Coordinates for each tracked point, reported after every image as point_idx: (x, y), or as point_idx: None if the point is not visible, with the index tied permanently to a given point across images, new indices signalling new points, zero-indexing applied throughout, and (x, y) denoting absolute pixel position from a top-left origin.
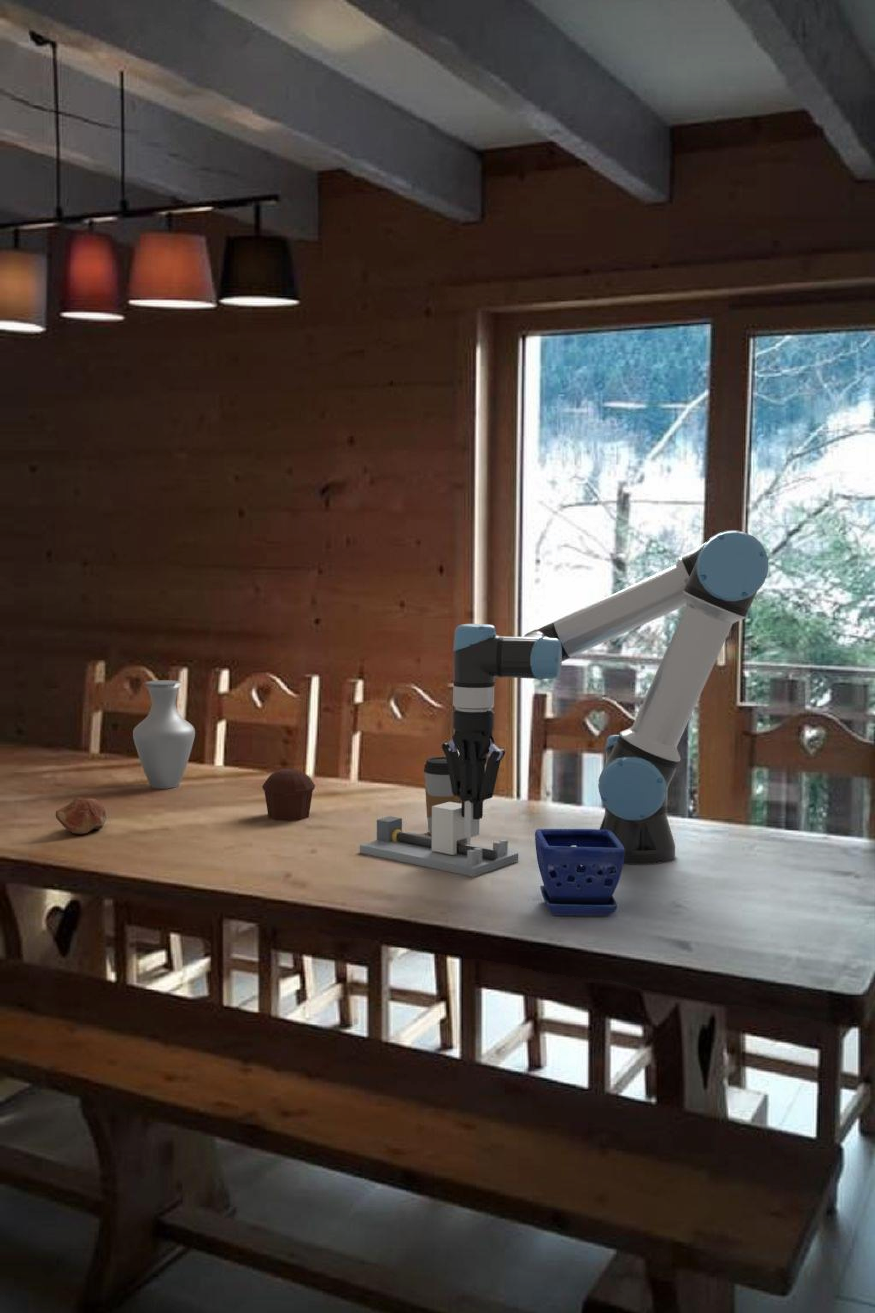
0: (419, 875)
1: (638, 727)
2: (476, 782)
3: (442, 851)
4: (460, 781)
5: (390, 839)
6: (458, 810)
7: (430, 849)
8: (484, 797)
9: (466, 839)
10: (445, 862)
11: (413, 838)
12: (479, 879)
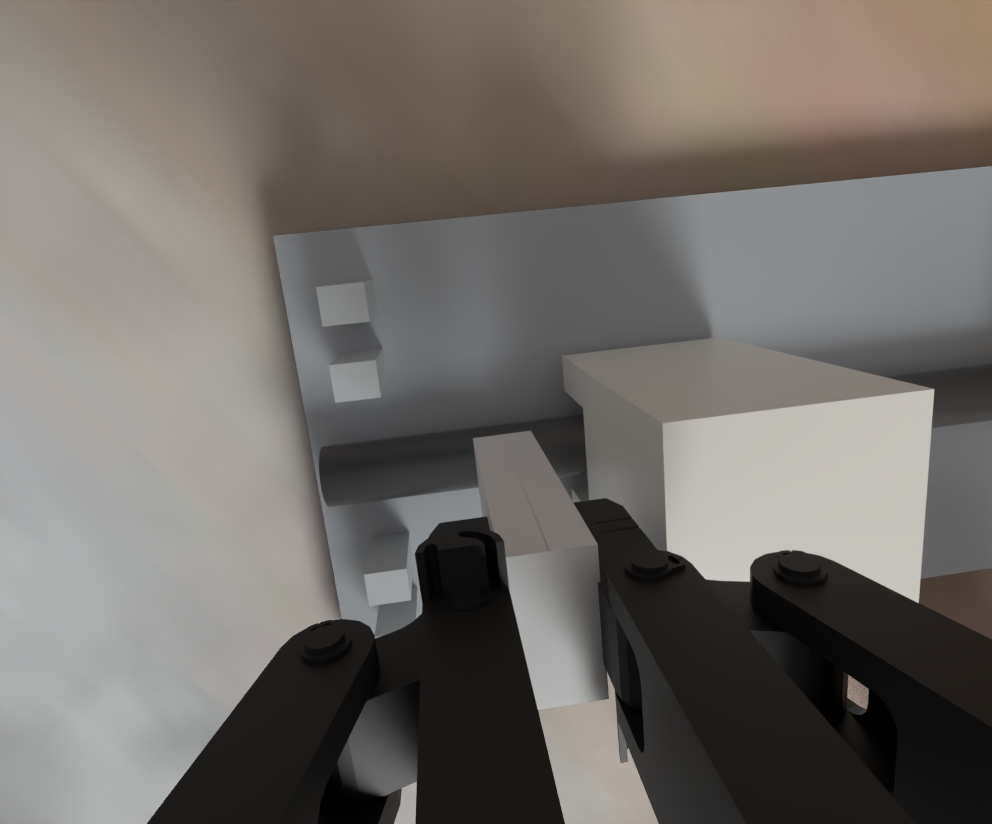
0: (530, 26)
1: None
2: (428, 797)
3: (642, 347)
4: (815, 710)
5: None
6: (659, 502)
7: None
8: (285, 653)
9: None
10: (496, 216)
11: (919, 381)
12: (223, 222)
